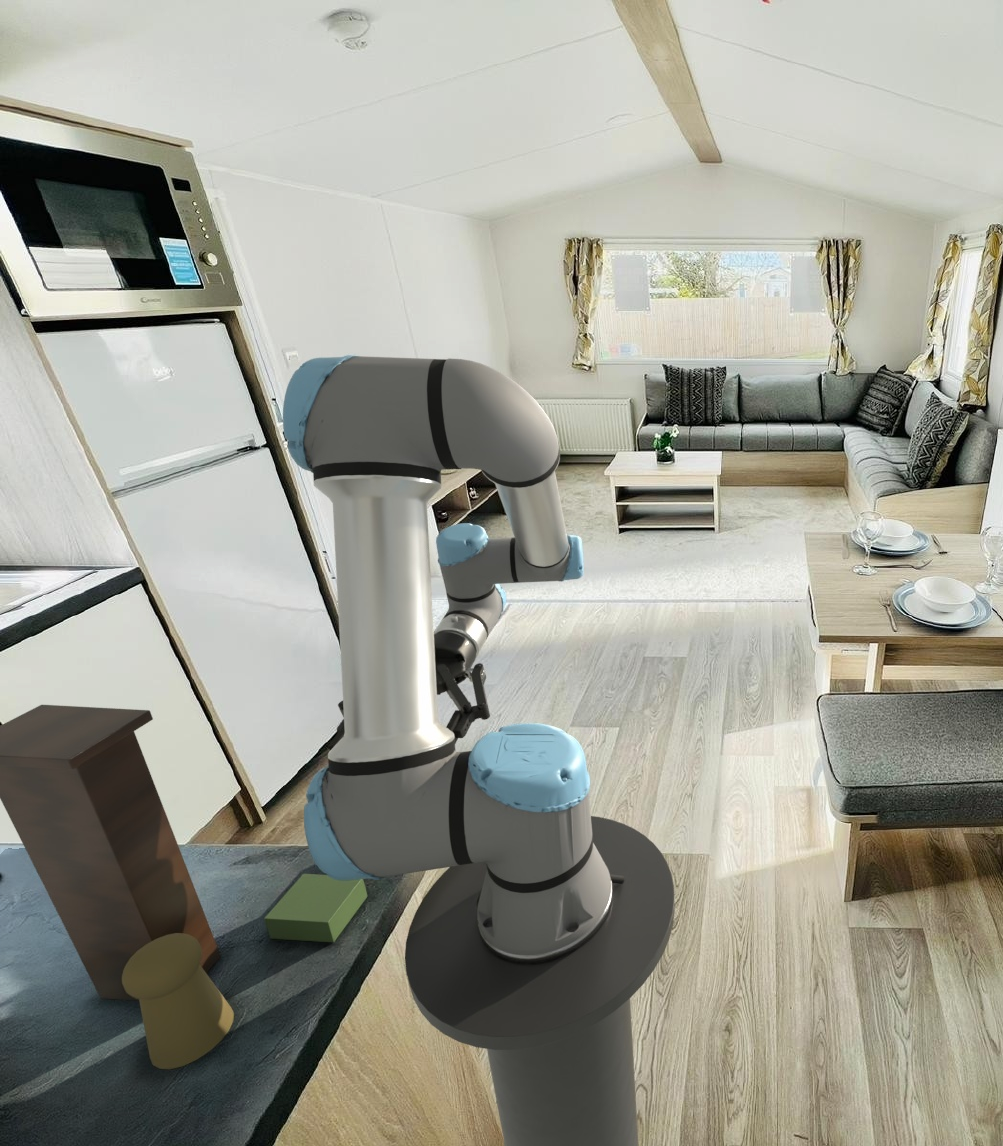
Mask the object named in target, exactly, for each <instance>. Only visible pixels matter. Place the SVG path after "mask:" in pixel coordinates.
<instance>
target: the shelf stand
mask: <svg viewBox="0 0 1003 1146" xmlns="http://www.w3.org/2000/svg"><path fill="white" fill-rule="evenodd" d="M153 720H154V718H153V715H152V711H150V710H149V709H131V708H115V707H114V708H111V707H96V706H95V707H94V706H93V707H92V706H91V707H90V706H76V705H58V704H57V705H55V704H40V705H37V706H36V707H34V708H32V709H30V710H28V711H26V712H24V713H22V714H21V715H18V716H16V717H14V718H13V719H10V720H9V721H6V722H5V723H2V724H1V725H0V801H1V803H2V805H3V807H4V809H5V811H6V813H7V815H8V817H9V819H10V821H11V823H12V825H13V827H14V828H15V831H16V833H17V835H18V837H19V839H20V841H21V843H22V845H23V847H24V849H25V851H26V853H27V855H28V857H29V859H30V862H31V864H32V865H33V867H34V869H35V871H36V873H37V875H38V877H39V879H40V881H41V883H42V885H43V886H44V889H45V891H46V893H47V895H48V898H49V899H50V901H51V904H52V905H53V907H54V908H55V911H56V913H57V915H58V916H59V918H60V921H61V923H62V925H63V927H64V928H65V931H66V933H67V935H68V937H69V939H70V941H71V944H72V945H73V947H74V948H75V951H76V953H77V955H78V956H79V958H80V961H81V963H82V965H83V967H84V969H85V971H86V972H87V974H88V977H89V979H90V980H91V982H92V985H93V986H94V988H95V990H96V991H95V992H97V994H98V997H99V998H100V999H107V1000H120V1001H121V1000H122V1001H123V1000H124V1001H136V1002H137V1001H138V1002H139V999H136V998H134V997H132V996H131V995H129V994H128V993H127V992H126V990H125V989H124V986H123V984H122V974H123V970H124V968H125V966H126V964H127V962H128V961H129V959H130V958H131V957H132V956H133V955H134V954H135V953H136V952H137V951H138V950H139V949H141V948H142V947H143V946H145V945H146V944H148V943H150V942H152V941H153V940H155V939H157V938H160V937H163V936H165V935H169V934H174V933H184V934H189V935H191V936H193V937H195V938H196V939H197V940H198V942H199V944H200V946H201V948H202V958H201V963H200V966H201V967H202V968H203V970H204V971H205V972H206V974H207V973H208V972H209V971H210V970H211V969H212V967H214V965H215V964H216V963H217V962H218V961H219V960H220V959H221V957H222V955H221V953H220V949H219V947H218V945H217V943H216V940H215V937H214V934H213V931H212V929H211V926H210V924H209V922H208V919H207V917H206V913H205V911H204V908H203V906H202V904H201V901H200V898H199V896H198V893H197V890H196V888H195V885H194V883H193V880H192V877H191V875H190V872H189V869H188V867H187V864H186V861H185V859H184V857H183V855H182V851H181V849H180V847H179V844H178V842H177V839H176V836H175V834H174V830H173V829H172V825H171V823H170V820H169V818H168V816H167V813H166V810H165V807H164V805H163V802H162V800H161V797H160V794H159V792H158V789H157V787H156V785H155V782H154V779H153V776H152V774H151V772H150V769H149V767H148V764H147V761H146V759H145V756H144V753H143V751H142V749H141V745H140V743H139V741H138V738H137V735H136V733H135V731H137V730H139V729H140V728H142V727H143V726H145V725H146V724H148V723H150V722H151V721H153Z"/></svg>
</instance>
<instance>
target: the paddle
mask: <svg viewBox="0 0 1003 1146" xmlns="http://www.w3.org/2000/svg"><path fill="white" fill-rule="evenodd" d="M364 881H365V880H364V879H359V880H348V881H341V880H336V879H333V878H331V877H329V876H328V875H327V874H312V873H302V874H301V875H300V877H299V878H298V879H297V880H296V881H295V883H294V884H292V886H291V887H290V888H289V889H288V891H286V893H285V894H284V895H283V896H282V897H281V899H280V900H279V901H278V902H277V903H276V904H275V905H274V906H273V908H272V909H271V910H270V911H269V912H268V913H267V914H266V915H265V916H264V918H263V920H264V924H265V926H266V929H267V932H268V935H269V938H270V939H271V940H273V939H274V940H287V941H288V940H289V941H304V942H305V941H307V942H320V943H321V942H322V943H335V942H336V940H337V939H338V937H339V936H340V935H341V934H342V933H343V930H344V929H345V928H346V926H348V924H349V923H350V921H351V920H352V918H353V917H354V916H355V914H356V913H357V912H358V910H359V909H360V907H361V906H362V905H363V903H364V902H365V901H366V899H367V897H368V893H367V889H366V888H367V887H366V885H365V882H364Z"/></svg>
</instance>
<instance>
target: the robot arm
mask: <svg viewBox="0 0 1003 1146" xmlns="http://www.w3.org/2000/svg"><path fill="white" fill-rule="evenodd" d="M282 405H283V407H282V428H283V435H284V439H285V440H286V441H288V444H287V449H288V452H289V454H290V456H291V458H292V460H293V462H294V463H295V464H296V466H298V467H300V468H301V469H302V470H304V471H308V472H311V474H313V475H312V476H313V486H314V488H316V489H317V490H318V491H319V492H320V493H322V494H323V495H324V496H325V497H327V498H328V499H329V500H330V502H331V503H332V515H333V530H334V531H333V534H334V553H335V554H334V555H335V571H336V572H335V573H336V589H337V590H336V591H337V610H338V628H339V629H338V630H339V649H340V667H341V668H340V669H341V687H342V700H341V701H340V702H338V703H337V707H338V709H339V711H340V714H341V715H342V717H343V719H342V720H341V721H340V723H339V725H337V727H336V735H335V736H334V737H333V739H332V741H331V742H330V743H329V744H328V746H327V747H328V749H329V752H328V753H327V764H328V765H326V766H325V767H323V768H321V769H320V770H318V771H317V772H316V773H315V774H314V775H313V777H312V778H311V780H310V781H309V783H308V787H307V789H306V794H305V797H306V800H307V803H305V804H304V805H303V829H304V834H305V840H306V844H307V847H308V850H309V853H310V856H311V858H312V860H313V861H314V864H315V865H316V866H317V867H318V869H319V870H320V871H321V872H322V873H323V874H325V875H328V876H329V877H331V878H333V879H336V880H341V881H348V880H359V879H363V880H367V879H368V880H374V881H377V880H378V881H379V880H382V879H386V878H388V877H393V876H399V875H407V874H413V873H420V872H426V871H432V870H440V869H446V868H449V867H453V866H459V865H464V864H471V863H479V862H486V865H487V872H486V876H485V880H484V883H483V886H482V889H481V891H480V894H479V896H478V899H477V901H476V908H477V905H478V911H477V922H478V928H479V934H480V937H481V940H482V942H483V944H484V945H485V947H486V948H487V949H488V950H489V951H490V952H491V953H492V954H493V955H495V956H496V957H498V958H500V959H502V960H504V961H507V962H510V963H514V964H522V965H533V964H541V963H546V962H550V961H554V960H557V959H559V958H562V957H564V956H566V955H568V954H570V953H572V952H574V951H576V950H577V949H579V948H580V947H582V946H583V945H584V944H586V943H587V942H588V941H589V940H590V939H591V938H592V937H593V936H594V935H595V934H596V933H597V932H598V931H599V929H600V928H601V927H602V925H603V924H604V922H605V920H606V919H607V917H608V914H609V912H610V909H611V905H612V883H617V884H623V883H624V876H619V875H611V874H609V871H608V868H607V866H606V864H605V863H604V861H603V859H602V857H601V856H600V854H599V852H598V850H597V848H596V847H595V845H594V843H593V836H592V824H591V816H592V814H591V813H592V812H591V804H590V794H589V793H590V788H591V776H590V773H589V771H588V767H587V761H586V760H587V759H586V755H585V751H584V750H583V747H582V745H581V744H580V742H579V741H578V739H576V737H574V736H573V735H570V734H569V733H566V731H565V730H563V729H562V728H559V727H557V726H553V725H550V724H544V723H537V722H522V723H521V722H520V723H514V724H509V725H504V726H501V727H500V728H499V729H498V731H493V730H492V731H490V732H488V733H486V734H485V735H484V736H482V737H481V738H480V739H478V740H477V741H476V743H475V744H474V746H473V747H472V749H471V750H468V751H467V750H466V751H457V750H456V744H457V742H458V739H464V737H465V736H467V733H468V731H469V729H470V728H471V726H472V724H473V723H474V722H476V720H479V719H481V720H482V721H485V720H489V719H490V717H491V713H490V709H489V704H488V703H489V702H488V700H487V695H486V690H485V683H486V679H487V674H486V671H485V668H484V664H483V663H481V662H479V663H475V662H476V659H477V658H478V656H479V654H480V652H481V651H482V649H483V647H484V645H485V643H486V641H487V640H488V638H489V635H490V634H491V632H492V630H493V629H494V626H496V623H497V622H498V621H499V620H500V618H501V616H502V615H503V614H502V613H503V612H504V610H505V606H506V603H507V593H506V591H505V589H503V587H502V586H501V584H503V585H504V584H522V583H523V584H524V583H544V582H545V583H546V582H548V583H549V582H561V583H562V582H564V581H572V580H579V579H581V578H582V577H583V575H584V572H585V571H584V569H585V568H584V565H585V564H584V547H583V539H582V538H581V537H580V536H578V535H573V534H571V535H570V534H567V528H566V522H565V518H564V512H563V507H562V502H561V496H560V491H559V485H558V480H557V474H556V470H557V468H558V466H559V464H560V461H561V450H560V444H559V439H558V435H557V432H556V429H555V426H554V425H553V423H552V420H551V419H550V417H549V416H548V414H547V413H546V412H545V410H544V409H543V408H542V406H541V405H540V404H539V402H538V401H537V400H536V399H535V398H534V397H533V396H532V395H531V394H530V393H529V392H528V391H527V390H526V389H525V388H523V387H522V386H521V385H520V384H518V383H517V382H516V381H514V380H513V379H511V378H510V377H508V376H507V375H505V374H504V373H502V372H501V371H499V370H497V369H495V368H492V367H490V366H489V365H486V364H483V363H481V362H477V361H473V360H470V359H464V358H446V359H445V358H443V359H442V358H418V357H417V358H416V357H413V358H412V357H391V356H389V357H387V356H360V355H358V354H348V355H344V356H332V357H330V356H329V357H314V358H311V359H308V360H306V361H305V362H303V363H302V364H301V365H300V366H299V367H298V369H296V370H295V371H294V372H293V374H292V376H291V378H290V379H289V382H288V383H287V387H286V389H285V394H284V398H283V404H282ZM462 469H466V470H468V469H471V470H472V469H473V470H480V471H481V472H482V474H483V475H484V476H485V477H486V478H487V479H488V480H489V481H490V482H491V483H494V485H495V488H496V490H497V493H498V496H499V499H500V501H501V504H502V507H503V509H504V512H505V514H506V517H507V521H508V523H509V526H510V528H511V531H512V534H513V536H512V537H511V536H510V537H489V536H488V534H487V532H486V530H485V528H484V527H482V526H481V525H478V524H472V523H470V522H469V523H468V522H466V523H465V522H464V523H462V522H461V523H456V524H452V525H449V526H447V527H445V528H444V529H442V530H441V531H440V532H439V533H438V535H437V536H436V538H435V539H436V540H435V544H436V550H437V551H436V552H437V556H438V557H437V563H438V565H439V569H440V572H441V576H442V580H443V585H444V588H445V593H446V598H447V599H446V600H447V604H448V609H447V611H446V613H445V614H444V616H443V617H442V619H441V621H440V622H438V623H439V624H438V625H437V626H436V628H434V614H433V596H432V595H433V593H432V576H431V575H432V574H431V573H432V572H431V558H430V556H431V555H430V539H429V538H430V536H429V535H430V534H429V518H428V517H429V516H428V502H429V501H430V500H431V499H432V498H433V497H434V496H435V495H436V494H437V493H438V492H439V491H440V490H441V489H442V474H441V473H442V470H445V471H446V470H462ZM474 663H475V665H474ZM473 665H474V666H473ZM472 666H473V667H472ZM466 679H468V680H469V682H471V683H472V686H473V691H474V696H475V702H476V705H472V703H471V701H469V700H468V698H467V697H466V695H465V694H464V692H463V691H462V689H461V688H460V687H459V685H460V684H461V683H463V682H464V681H465V680H466ZM443 693H447V695H448V697H449V698H450V699H451V701H452V702H453V703H454V705H455V706H456V708H457V709H455V710H454V711H453V713H452V715H451V717H450V719H449V721H448V722H447V725H444V724H442V723H441V722H440V720H439V709H438V708H439V707H438V696H441V695H442V694H443Z"/></svg>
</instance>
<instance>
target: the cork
mask: <svg viewBox="0 0 1003 1146" xmlns="http://www.w3.org/2000/svg"><path fill="white" fill-rule="evenodd" d="M201 958H202V948H201V946H200V944H199V942H198V940H197V939H196V938H195V937H193V936H191V935H189V934H184V933H174V934H169V935H165V936H163V937H160V938H157V939H155V940H153V941H152V942H150V943H148V944H146V945H145V946H143V947H142V948H141V949H139V950H138V951H137V952H136V953H135V954H134V955H133V956H132V957H131V958H130V959H129V961H128V962H127V964H126V966H125V968H124V970H123V974H122V984H123V986H124V989H125V990H126V992H127V993H128V994H129V995H131V996H132V997H134V998H136V999H139V1001H138V1002H139V1006H140V1011H141V1016H142V1017H141V1018H142V1023H143V1028H144V1033H145V1038H146V1044H147V1049H148V1054H149V1059H150V1062H151V1064H152V1065H153V1066H154V1067H155V1068H158V1069H160V1070H172V1069H178V1068H181V1067H184V1066H186V1065H188V1064H190V1063H193V1062H195V1061H197V1060H199V1059H200V1058H201V1057H204V1056H205V1055H207V1054H208V1053H209V1052H211V1051H212V1050H213V1049H214V1048H215V1047H216V1046H217V1045H218V1044H220V1042H222V1041H223V1039H224V1038H225V1037H226V1035H227V1034H228V1033H229V1031H230V1029H231V1027H232V1025H233V1023H234V1018H235V1017H234V1016H235V1012H234V1010H233V1009H232V1006H231V1004H229V1003H228V1001H227V1000H226V998H225V997H224V995H223V994H222V993H221V992H220V990H219V989H218V987H217V985H215V983H214V982H213V981H212V979H211V977H210V976H209V975H208V974H207V973H206V972H205V971H204V970H203V968H202V967H201V966H200V963H201Z"/></svg>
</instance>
